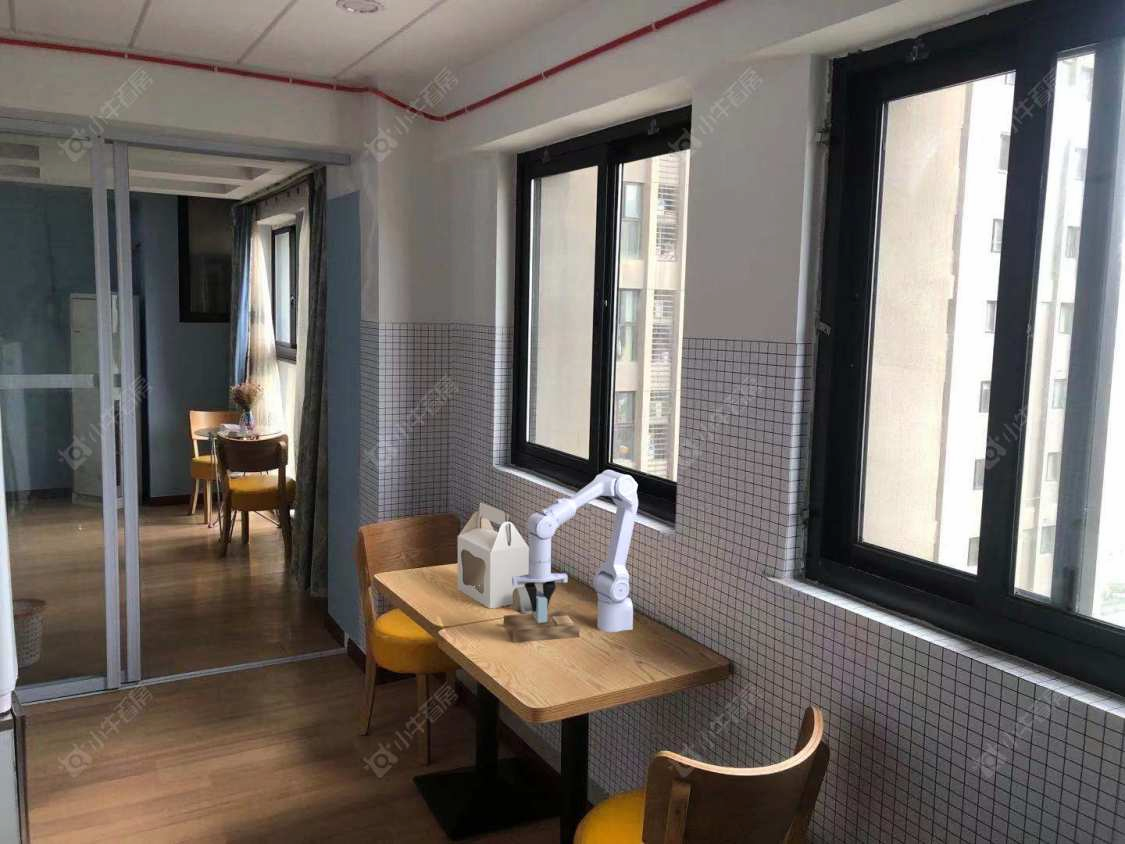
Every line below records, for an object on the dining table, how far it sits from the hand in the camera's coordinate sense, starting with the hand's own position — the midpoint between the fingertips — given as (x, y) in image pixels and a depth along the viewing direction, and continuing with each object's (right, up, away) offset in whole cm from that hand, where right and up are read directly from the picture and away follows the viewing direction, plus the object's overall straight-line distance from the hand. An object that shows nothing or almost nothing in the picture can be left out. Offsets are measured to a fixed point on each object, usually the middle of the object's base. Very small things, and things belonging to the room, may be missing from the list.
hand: (539, 610), depth 240 cm
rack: (0, -8, +8) cm, 12 cm away
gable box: (-16, -4, +41) cm, 44 cm away
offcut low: (+6, -7, +10) cm, 13 cm away
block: (0, -2, 0) cm, 2 cm away
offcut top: (+6, -6, +9) cm, 12 cm away
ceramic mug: (-3, -6, +26) cm, 27 cm away
